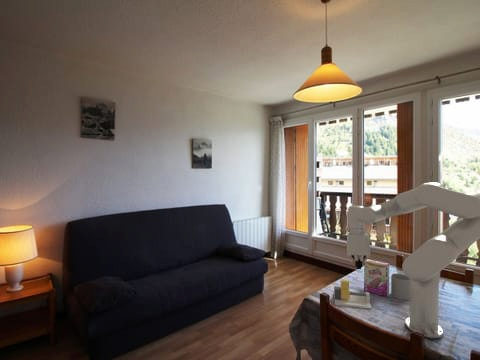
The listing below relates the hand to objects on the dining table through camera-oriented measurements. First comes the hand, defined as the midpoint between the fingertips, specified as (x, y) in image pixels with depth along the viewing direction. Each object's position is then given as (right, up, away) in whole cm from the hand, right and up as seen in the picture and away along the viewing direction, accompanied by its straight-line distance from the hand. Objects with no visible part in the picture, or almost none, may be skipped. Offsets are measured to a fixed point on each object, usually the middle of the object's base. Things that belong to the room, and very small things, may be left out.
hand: (358, 268), depth 124 cm
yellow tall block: (-6, -15, +3) cm, 16 cm away
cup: (+25, -17, +7) cm, 30 cm away
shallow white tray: (-3, -17, +2) cm, 17 cm away
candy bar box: (+14, -17, +11) cm, 24 cm away
